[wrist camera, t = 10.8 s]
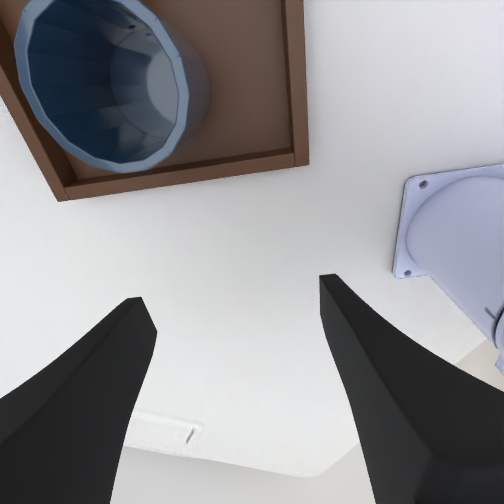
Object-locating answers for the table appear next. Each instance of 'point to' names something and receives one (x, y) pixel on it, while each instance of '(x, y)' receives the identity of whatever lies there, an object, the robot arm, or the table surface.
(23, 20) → the cup
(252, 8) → the tray
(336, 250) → the table surface
